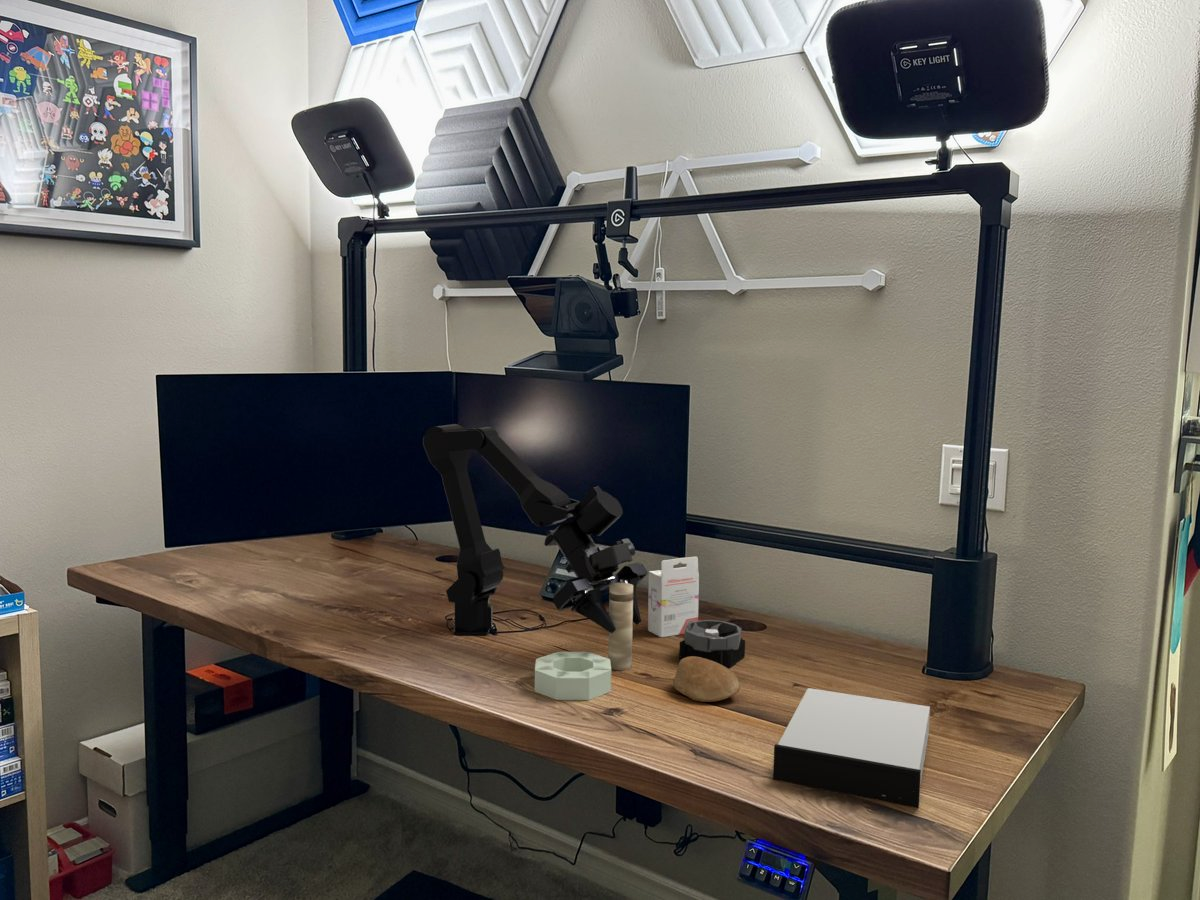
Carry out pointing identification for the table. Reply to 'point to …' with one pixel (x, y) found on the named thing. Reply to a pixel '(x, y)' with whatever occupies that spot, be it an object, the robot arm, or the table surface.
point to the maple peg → (621, 625)
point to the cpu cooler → (713, 642)
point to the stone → (705, 680)
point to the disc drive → (855, 746)
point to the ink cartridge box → (673, 597)
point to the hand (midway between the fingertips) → (626, 627)
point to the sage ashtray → (572, 675)
